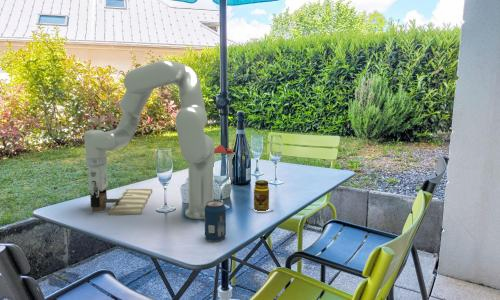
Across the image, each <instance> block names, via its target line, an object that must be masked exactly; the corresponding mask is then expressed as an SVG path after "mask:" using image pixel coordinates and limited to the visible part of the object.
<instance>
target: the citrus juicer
mask: <svg viewBox="0 0 500 300" xmlns="http://www.w3.org/2000/svg"><path fill="white" fill-rule="evenodd" d="M226 149H227V151H226V150H225V147H224V146H223V145H222V144H219V145H218V146H217V147H216V148H215V147H214V154H215V153H227V152H228V153H227V154H229V177H230V180H231V182H232V183H233V181H232V168H233V165H232V159H233V157H234V155H235V156H236V152H233V151H232V150H234V149H232V148H226Z"/></svg>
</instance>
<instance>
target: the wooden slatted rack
mask: <svg viewBox="0 0 500 300" xmlns="http://www.w3.org/2000/svg"><path fill="white" fill-rule="evenodd" d="M152 193H153V188H131V189H130V188H126V189H125V190H124V191H123V192H122V194H121V195H120V196H119V198H118V199H120V202H119V203H118V205H117V204H116V203H114V204H113V205H112V206H111V208H110V209H109V210H108V215H109V216H115V215H116V216H118V215H120V216H121V215H142V212H143V211H144V209H145V207H146V205H147V203H148V201H149V199H150V197H151V196H152Z"/></svg>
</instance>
